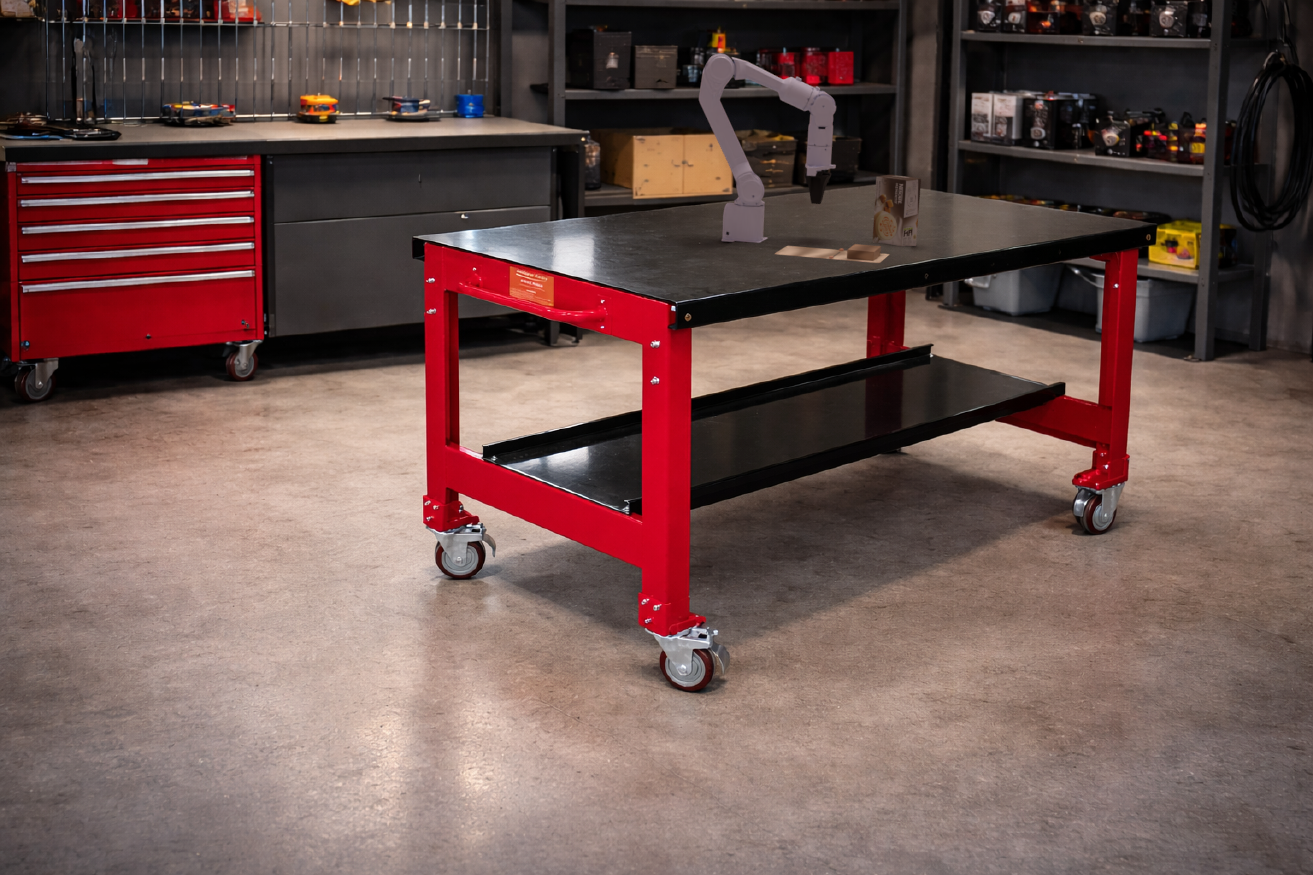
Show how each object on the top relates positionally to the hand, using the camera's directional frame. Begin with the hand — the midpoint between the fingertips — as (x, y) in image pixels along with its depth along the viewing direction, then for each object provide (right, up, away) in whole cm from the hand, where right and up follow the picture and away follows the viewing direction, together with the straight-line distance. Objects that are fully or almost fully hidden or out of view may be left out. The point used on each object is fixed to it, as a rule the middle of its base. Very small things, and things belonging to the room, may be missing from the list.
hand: (816, 203), depth 323 cm
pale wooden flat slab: (+2, -14, -14) cm, 20 cm away
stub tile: (+9, -15, -16) cm, 24 cm away
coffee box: (+19, -9, +4) cm, 22 cm away
